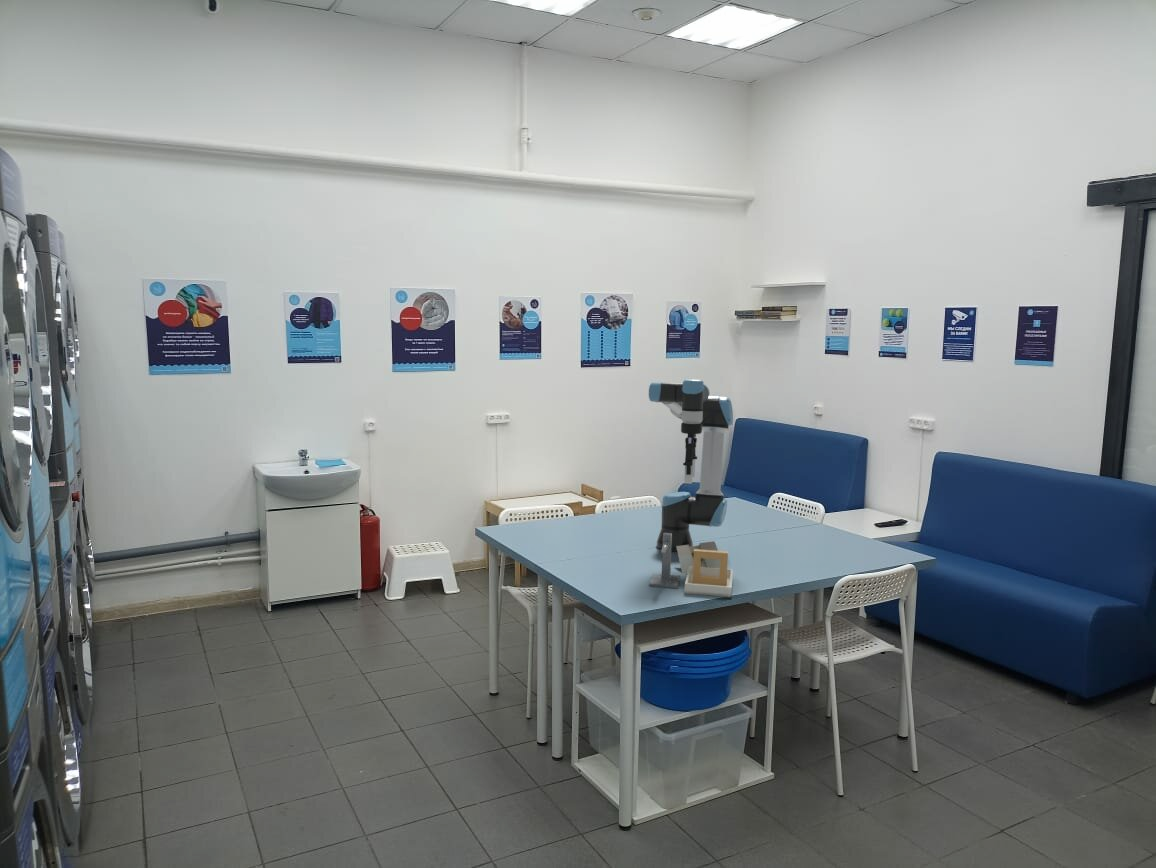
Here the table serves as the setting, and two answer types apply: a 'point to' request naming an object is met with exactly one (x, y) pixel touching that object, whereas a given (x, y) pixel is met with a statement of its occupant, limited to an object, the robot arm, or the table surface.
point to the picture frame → (710, 555)
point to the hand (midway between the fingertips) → (689, 480)
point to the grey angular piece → (688, 553)
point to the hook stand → (665, 567)
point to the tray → (709, 589)
